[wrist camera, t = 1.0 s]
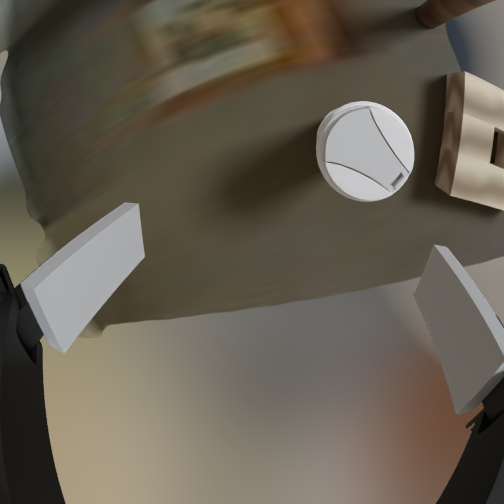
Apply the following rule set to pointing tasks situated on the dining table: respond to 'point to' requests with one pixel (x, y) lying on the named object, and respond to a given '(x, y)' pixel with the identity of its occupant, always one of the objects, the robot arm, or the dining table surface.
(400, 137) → the coffee cup
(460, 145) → the maple block
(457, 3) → the walnut peg
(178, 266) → the dining table surface
